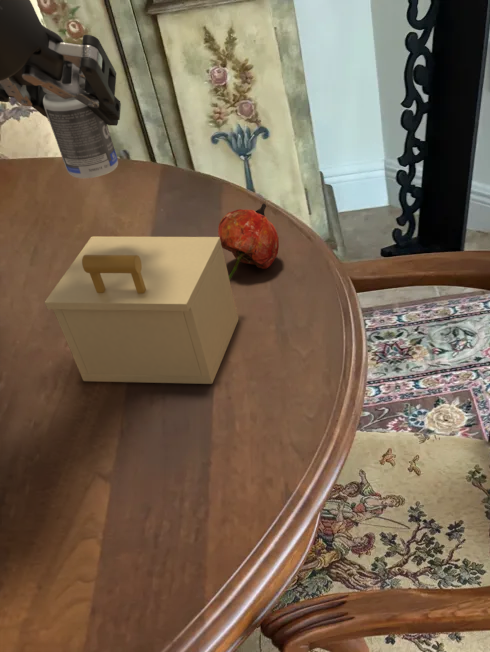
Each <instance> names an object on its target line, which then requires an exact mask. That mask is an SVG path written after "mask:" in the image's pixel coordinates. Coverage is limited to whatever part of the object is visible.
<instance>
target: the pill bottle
mask: <svg viewBox="0 0 490 652" xmlns="http://www.w3.org/2000/svg"><path fill="white" fill-rule="evenodd" d="M59 82H61V83H62V78H61V80H60V81H59ZM79 86H80V88H81V89H83V90H84V91H85V80H84V79H83V78H81V77H80V76H79ZM41 87H42V86H41ZM42 88H43V91H44V92H46V93H47V94H46V95H45V96H44V98H43V105H44V108H45V111H46V114H47V117H48V118H47V120H48V122H49V124H50V127H51V130H52V133H53V136H54V139H55V141H56V144H57V146H58V150H59V153H60V156H61V158H62V162H63V163H64V166H65V170H66V171H67V173H68V174H69V175H70V176H72V177H73V178H76V179H93V178H99V177H102V176H105V175H108V174H109V173H112V172H114V171H115V170H116V169H117V168H118V166H119V159H118V155H117V152H116V150H115V145H114V142H113V140H112V136H111V133H110V130H109V125H107V124H106V123H105V122H104V121H103V120H102V119H101V118H99V117H98V116H97V115H96V114H95V113H94V112H93V111H92V110H90V109H89V108H88V106H87V105H85V104H83V103H82V102H80V101H78V100H76V99H75V98H69V99H63V98H62V97H60V96H58V95H56V94H55V93H53V92H51V91H49V90H48V89H46V88H44V87H42Z"/></svg>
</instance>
